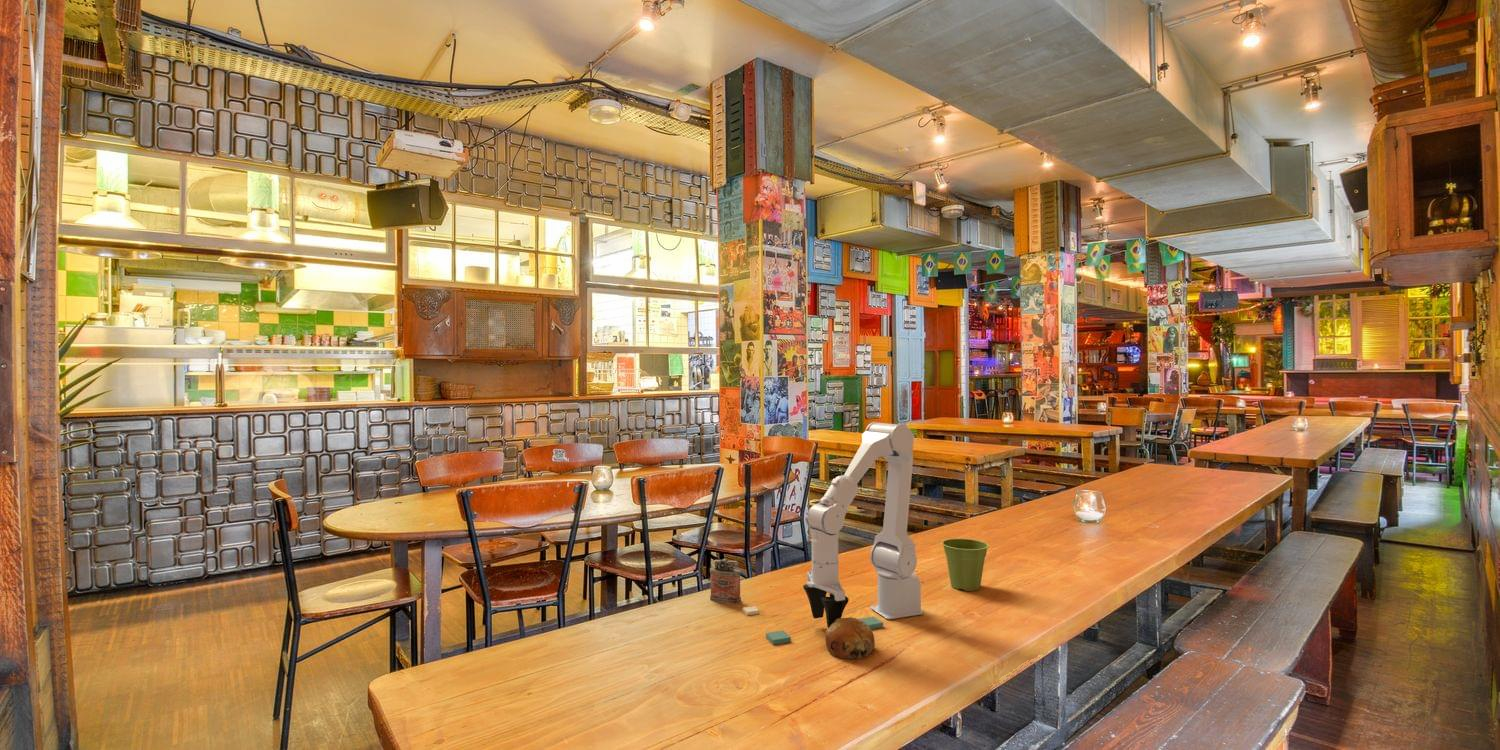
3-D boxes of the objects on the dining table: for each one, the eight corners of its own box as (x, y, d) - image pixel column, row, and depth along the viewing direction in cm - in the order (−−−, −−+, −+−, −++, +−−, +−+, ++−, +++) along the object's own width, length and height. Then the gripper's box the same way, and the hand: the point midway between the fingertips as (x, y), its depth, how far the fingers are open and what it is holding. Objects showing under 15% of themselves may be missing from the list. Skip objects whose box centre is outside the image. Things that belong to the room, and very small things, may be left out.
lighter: (707, 600, 165) (707, 560, 165) (713, 596, 168) (713, 556, 168) (737, 604, 162) (737, 563, 162) (743, 600, 165) (742, 559, 165)
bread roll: (874, 662, 138) (874, 621, 141) (874, 660, 129) (874, 616, 132) (826, 658, 140) (827, 618, 143) (823, 656, 131) (824, 613, 134)
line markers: (839, 597, 166) (839, 593, 166) (883, 627, 147) (883, 622, 147) (740, 611, 158) (740, 607, 158) (773, 644, 138) (773, 640, 138)
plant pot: (999, 588, 172) (999, 544, 172) (969, 597, 165) (969, 552, 165) (961, 576, 182) (961, 535, 182) (931, 585, 175) (931, 542, 175)
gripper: (794, 553, 150) (794, 614, 150) (823, 572, 136) (823, 638, 136) (822, 550, 152) (823, 610, 152) (853, 568, 139) (854, 633, 139)
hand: (825, 623), depth 145 cm, fingers open, 7 cm apart
